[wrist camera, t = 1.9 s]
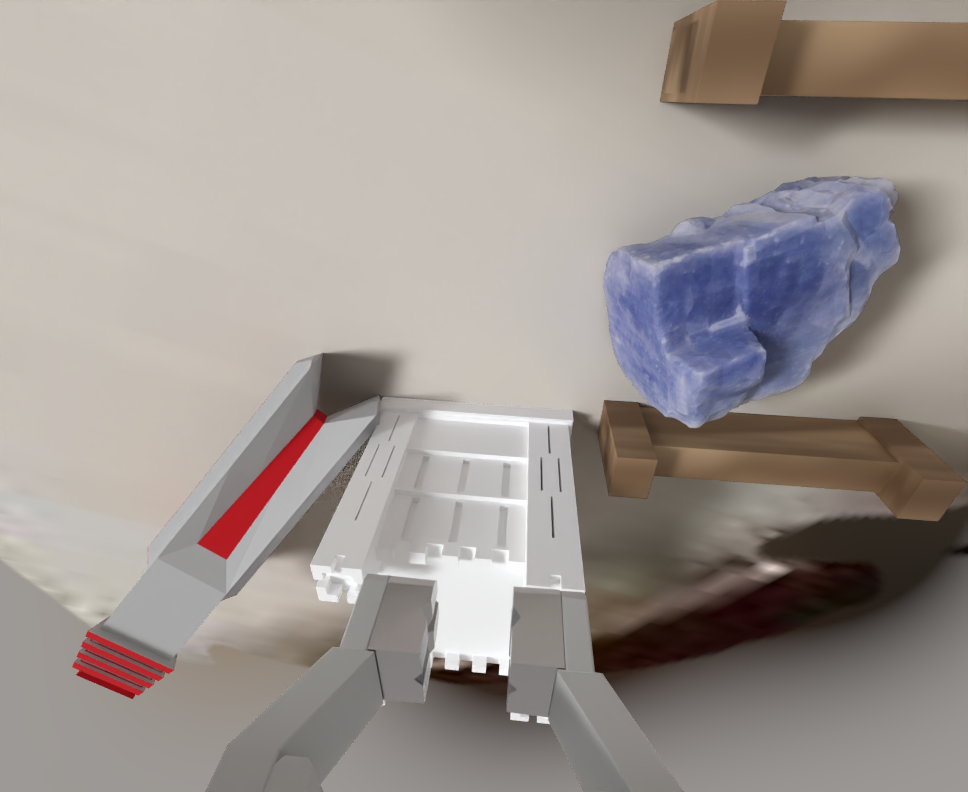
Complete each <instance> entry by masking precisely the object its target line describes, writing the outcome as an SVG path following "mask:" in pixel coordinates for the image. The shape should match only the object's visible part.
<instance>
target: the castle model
mask: <svg viewBox="0 0 968 792" xmlns="http://www.w3.org/2000/svg"><path fill="white" fill-rule="evenodd" d="M573 421H574V420H573V411H572V410H564V409H550V408H536V407H522V406H508V405H494V404H480V403H466V402H452V401H437V400H423V399H409V398H395V397H383V398H382V400H381V413H380V424H379V425H376V427H375V430H374V432H373V434H372V436H371V438H370V440H369V442H368V444H367V446H366V448H365V450H364V453H363V455H362V457H361V459H360V461H359V463H358V465H357V467H356V469H355V471H354V473H353V476H352V478H351V480H350V482H349V484H348V486H347V488H346V490H345V492H344V494H343V496H342V499H341V501H340V503H339V505H338V507H337V509H336V511H335V513H334V515H333V517H332V520H331V522H330V524H329V526H328V528H327V530H326V532H325V534H324V536H323V538H322V540H321V543H320V545H319V547H318V549H317V551H316V553H315V555H314V557H313V559H312V561H311V563H310V567H311V571H312V575H313V578H314V580H318V582H317V585H316V590H317V594H318V598H319V600H321V601H332V602H339V599H340V597H341V594H342V592H343V590H345V591H348V594H347V601H348V603H352V604H355V602H356V599H357V596H358V593H359V591H360V588H361V585H362V582H363V580H364V578H365V577H366V575H367V574H380V575H391V576H398V577H408V578H418V579H428V580H437V587H438V592H437V597H436V601H437V602H438V603H439V617H438V628H437V636H436V642H435V648H434V649H433V650H432V651H431V653H430V667H432V663H433V657H439V658H446V659H445V669H451V670H459V663H460V660H468V661H473V662H472V672H479V673H486V662H487V663H497V664H500V668H499V675H507V676H508V669H509V659H510V657H509V641H510V624H511V610H512V597H513V587H528V588H542V589H556V590H560V591H572V592H584V594H585V583H584V574H583V564H582V554H581V545H580V535H579V525H578V516H577V506H576V496H575V487H574V477H573V468H572V458H571V448H570V441H571V434H572V428H573ZM385 702H386V700H383V705H385ZM548 718H549V717H541V716H537V723H546V724H550V723H549V721H548ZM511 720H519V721H528V720H529V715H526V714H519V713H511Z"/></svg>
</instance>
